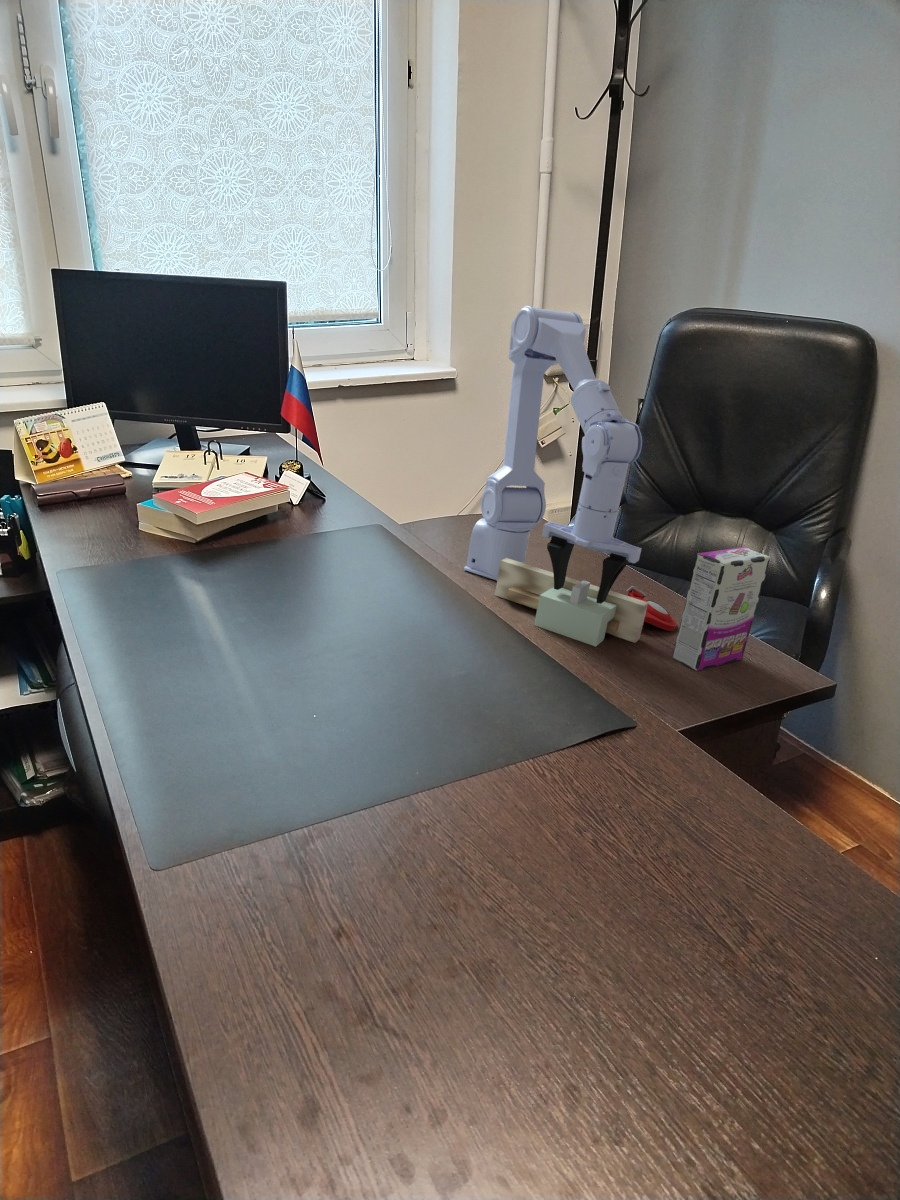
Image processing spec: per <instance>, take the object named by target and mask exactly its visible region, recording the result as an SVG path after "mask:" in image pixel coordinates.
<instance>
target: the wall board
mask: <svg viewBox="0 0 900 1200" xmlns="http://www.w3.org/2000/svg"><path fill="white" fill-rule="evenodd" d="M581 581H582V580H577V579H575V578H573V577H568V576H566V578H565V583H564V586H563V587H562V588H565V589H568V590H571V591H572V589H573V586H574V585H576V584H578V583H579V582H581ZM553 587H554V574H553V571H549V570H546V569H543V568H539V567H537V566H534V565H530V564H527V563H525V562H524V563H521V562H518V561H515V560H512V559H509V558H505V559H503V560H501V562H500V568H499V573H498V579H497V580H496V586H495V591H494V596H496V597H499V598H501V599H505V600H507V601H511V602H513V603H517V604H520V605H522V606H525V607H529V608H531V609H535V610H537V608H538V602H539V597H540V595H541V594H543V593H544V592H546V591H548V590H550V589H551V588H553ZM599 588H600V586H598V585H594V584H591V583H590V587H589V592H588V596H590V597H593V598H596V599H597V595H598V591H599ZM605 602H608V603H612V604H615V605H617V607H616V611H615V615H614V618H613V619H611V620H610V621H609V622H608V623H607V628H606V632H605V634H607V635H611V636H614V637H616V638H619V639H623V640H625V641H628V642H632V643H635V644H636V643H637V642H638V641H639V640H640V639H641V634H642V630H643V628H644V627H643V626H644V623H645V622H644V619H645V614H646V610H647V606H648V602H645V601H642V600H639V599H636V598H632V597H629V596H627V594H623V593H620V592H617V591H613V590H610V591H609V593H608V595H607V598H606V601H605Z"/></svg>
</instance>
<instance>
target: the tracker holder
mask: <svg viewBox="0 0 900 1200" xmlns="http://www.w3.org/2000/svg"><path fill="white" fill-rule="evenodd" d="M626 592H627V594H626V596H629V597H632V598H636V599H639V600H642V601H645V602H648V606H647V610H646V614H645V619H644V623H648V624H649V625H650V624H651V625H653V626H654V627H656V628H659V629H662V630H665V631H667V632H672V631H674V630H675V629H676V626H677V623H676V620H674V619H675V618H673V617H672V616H671V614H670V613H669V611H668V610H667V609H665V608H664V607H663V606H662V605H660V604H659V603H658V602H655V601H653V600H652V599H651V600H650V599H645V598H646V597H647V594H646V593H645V592H643V591H642V590H640V589H639V588H637V587H636V586H634V585H632V586H629V588H628V589H627V590H626Z"/></svg>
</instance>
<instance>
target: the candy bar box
mask: <svg viewBox="0 0 900 1200" xmlns="http://www.w3.org/2000/svg"><path fill="white" fill-rule="evenodd" d="M771 558H772V557H771V556H769V555H767V554H764V553H761V552H760V551H757V550H755V549H751V548H749V547H745V546H741V547H734V548H727V549H720V550H712V551H707V552H706V551H705V552H698V553H697V555H696V558H695V563H694V567H693V572H692V576H691V579H690V583H689V587H688V591H687V594H686V595H687V596H686V601H685V604H684V608H683V612H682V616H681V619H680V623H679V628H678V632H677V636H676V640H675V644H674V648H673V653H672V655H671V657H672V659H673V660H675V661H677V663H680V664H682V665H684V666H686V667H688V668H690V669H692V670H693V671H696V672H699V671H703V670H707V669H708V670H709V669H710V668H711V669H712V668H714V667H718V666H721V665H726V664H728V663H733V662H737V661H739V660H742V659H743V656H744V654H745V650H746V645H747V642H748V639H749V634H750V631H751V627H752V624H753V621H754V617H755V615H756V610H757V606H758V603H759V600H760V597H761V593H762V588H763V585H764V582H765V578H766V576H767V575H766V574H767V570H768V568H769V563H770V560H771Z"/></svg>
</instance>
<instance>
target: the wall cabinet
mask: <svg viewBox="0 0 900 1200" xmlns="http://www.w3.org/2000/svg"><path fill="white" fill-rule="evenodd" d="M580 581H581V582H579V583H578V584H576V585H574V586H573V589H572V591H571V590H568V589H565V588H561V589H559V590H556V589H554V587H553V588H551V589H550V590H548V591H546V592H544V593H543V594H541V595H540V597H539V602H538V608H537V609H536V614H535V617H534V618H535V619H534V626H536V627H538V628H541V629H544V630H548V631H550V632H552V633H553V632H554V633H556V634H559V635H562V636H563V637H568V638H570V639H572V640H576V641H578V642H582V643H585V644H587V645H589V646H593V647H597V646H598V645H600V644H601V643H602V642H603V641H604V639H605V636H606V633H605V632H606V628H607V623H608V622H609V621H610V620H611V619H613V618H614V615H615V611H616V607H617V605H615V604H612V603H608V602H605V601H604V602H603V603H602V604H599V603H596V602H597V599H596V598H593V597H590V596H588V592H589V587H590V584H591V582H590V581H587V580H585V579H583V580H580Z"/></svg>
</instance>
